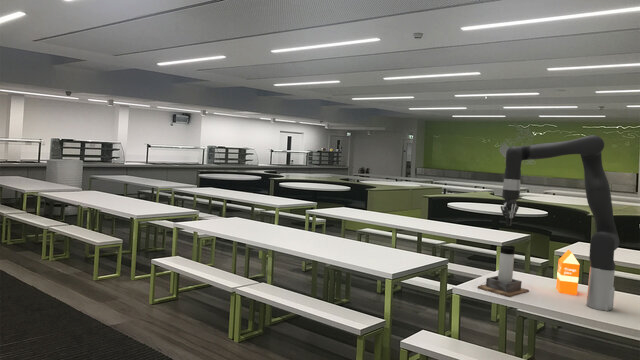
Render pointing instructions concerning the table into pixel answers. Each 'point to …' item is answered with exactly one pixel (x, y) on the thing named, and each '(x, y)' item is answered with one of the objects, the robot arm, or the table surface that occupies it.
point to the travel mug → (506, 264)
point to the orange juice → (568, 274)
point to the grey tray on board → (503, 287)
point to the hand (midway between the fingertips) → (508, 225)
